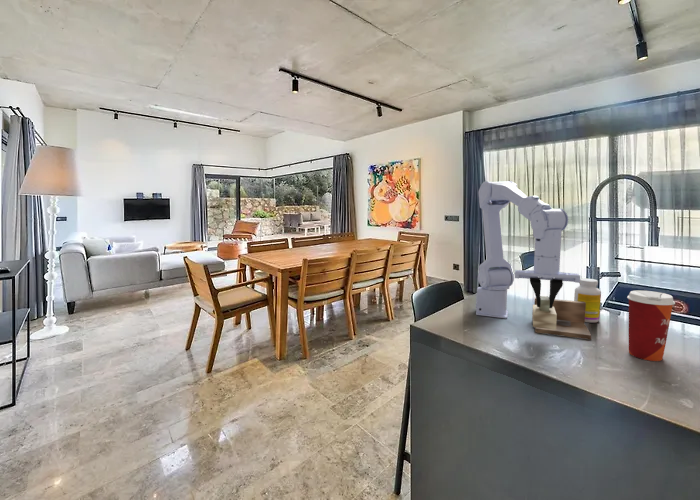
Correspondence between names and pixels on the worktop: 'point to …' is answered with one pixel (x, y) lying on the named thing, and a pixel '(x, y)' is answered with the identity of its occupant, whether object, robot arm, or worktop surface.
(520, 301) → the worktop surface
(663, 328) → the coffee cup
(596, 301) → the supplement bottle
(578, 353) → the worktop surface
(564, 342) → the worktop surface
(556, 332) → the cleat board
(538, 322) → the saddle block
